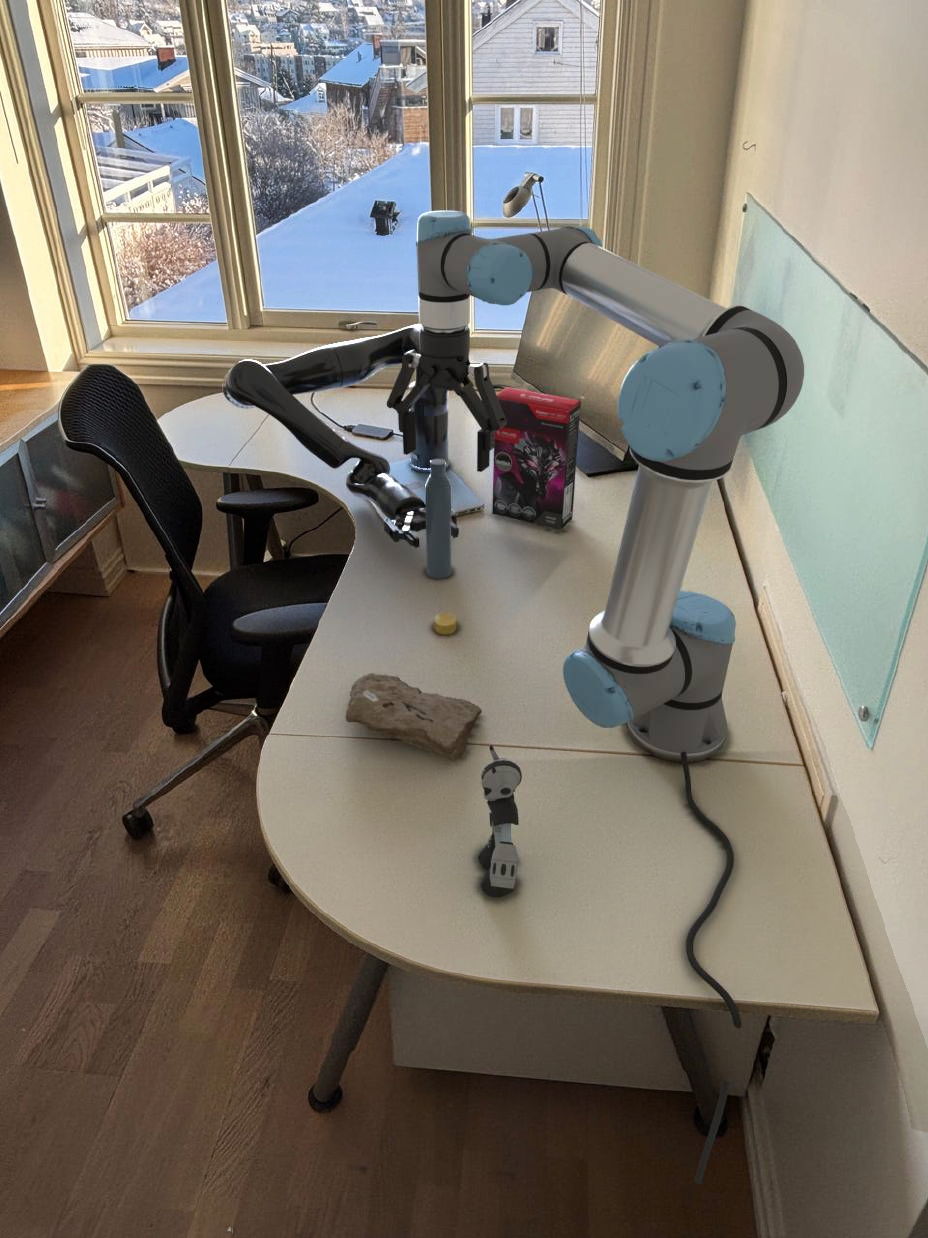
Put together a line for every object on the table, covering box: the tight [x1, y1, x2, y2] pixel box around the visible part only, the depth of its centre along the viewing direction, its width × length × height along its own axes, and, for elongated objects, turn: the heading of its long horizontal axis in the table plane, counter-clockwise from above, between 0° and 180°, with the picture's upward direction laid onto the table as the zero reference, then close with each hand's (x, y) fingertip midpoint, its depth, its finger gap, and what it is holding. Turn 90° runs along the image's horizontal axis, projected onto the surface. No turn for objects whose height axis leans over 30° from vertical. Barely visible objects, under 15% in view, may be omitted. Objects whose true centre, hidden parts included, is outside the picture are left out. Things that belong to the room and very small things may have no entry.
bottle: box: [424, 459, 452, 580], centre depth 176 cm, size 5×5×24 cm
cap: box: [433, 613, 458, 635], centre depth 165 cm, size 4×4×2 cm
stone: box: [344, 672, 483, 761], centre depth 141 cm, size 21×15×6 cm
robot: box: [477, 744, 523, 898], centre depth 114 cm, size 20×5×20 cm, turn 3°
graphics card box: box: [491, 386, 582, 531], centre depth 194 cm, size 17×7×27 cm, turn 62°
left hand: (437, 538), depth 180 cm, fingers open, 8 cm apart
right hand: (445, 460), depth 147 cm, fingers open, 13 cm apart
